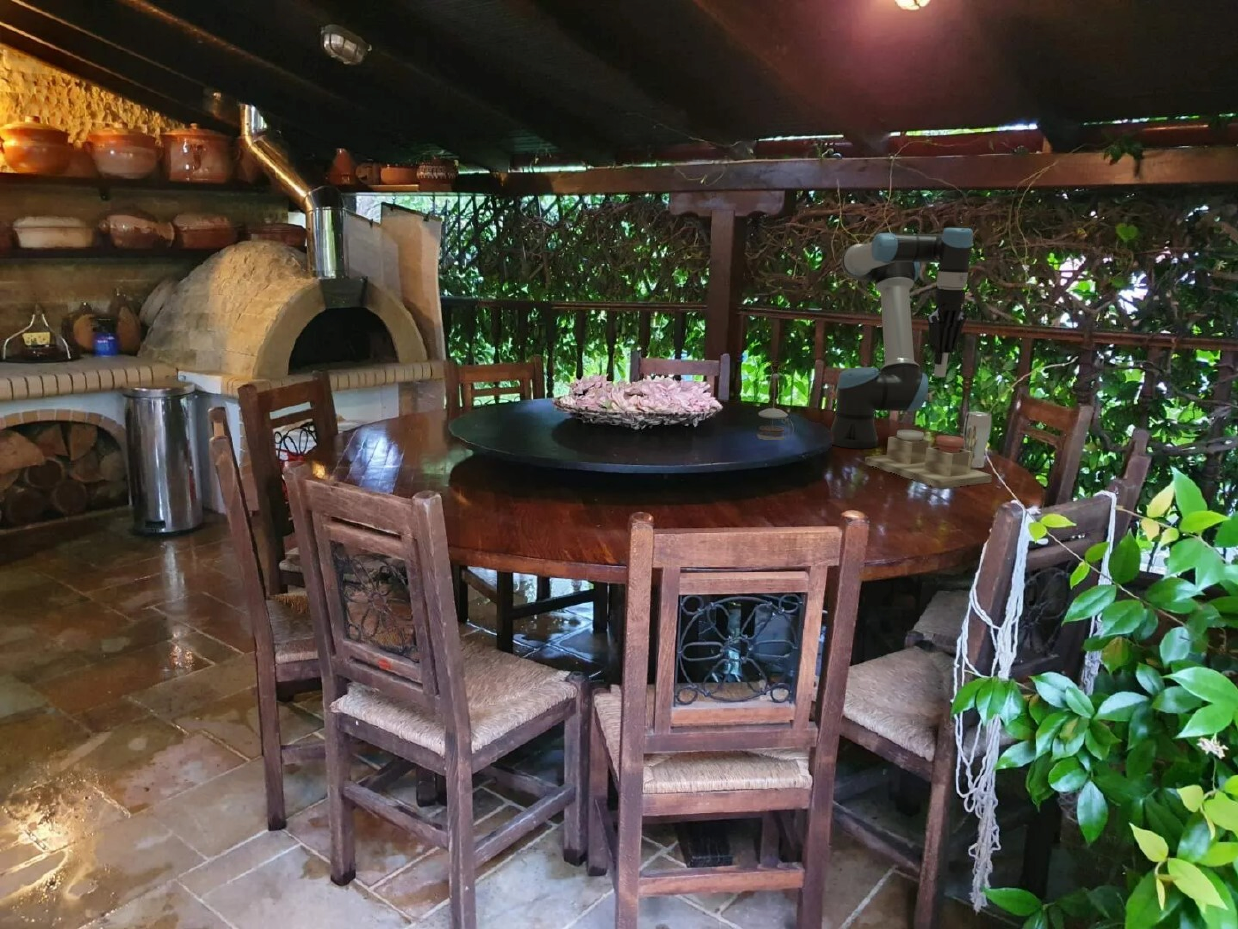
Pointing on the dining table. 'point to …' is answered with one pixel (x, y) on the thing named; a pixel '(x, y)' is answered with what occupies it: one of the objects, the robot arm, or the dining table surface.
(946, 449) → the brown rounded piece
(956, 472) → the stand
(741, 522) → the dining table surface
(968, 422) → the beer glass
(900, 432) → the grey cylinder
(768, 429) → the french press
